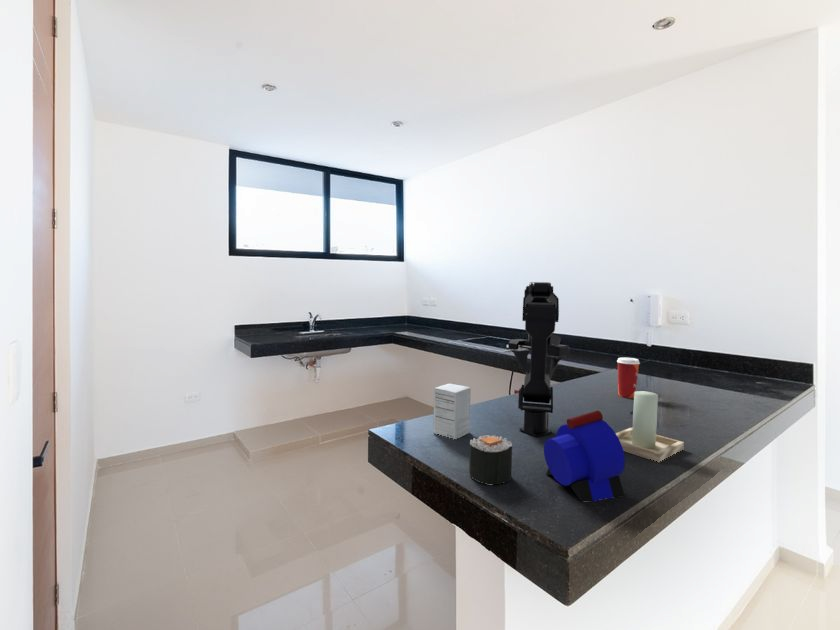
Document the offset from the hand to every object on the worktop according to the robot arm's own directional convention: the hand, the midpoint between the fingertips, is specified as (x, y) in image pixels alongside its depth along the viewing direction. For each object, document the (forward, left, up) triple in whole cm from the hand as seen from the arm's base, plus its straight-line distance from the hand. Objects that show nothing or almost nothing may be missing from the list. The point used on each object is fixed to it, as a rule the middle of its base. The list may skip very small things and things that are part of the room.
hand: (536, 375), depth 125 cm
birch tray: (+4, -30, -13) cm, 33 cm away
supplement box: (-30, +4, -13) cm, 33 cm away
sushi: (-40, -20, -13) cm, 47 cm away
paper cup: (+50, -2, -13) cm, 52 cm away
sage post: (+4, -30, -12) cm, 33 cm away
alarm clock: (-28, -33, -13) cm, 45 cm away
